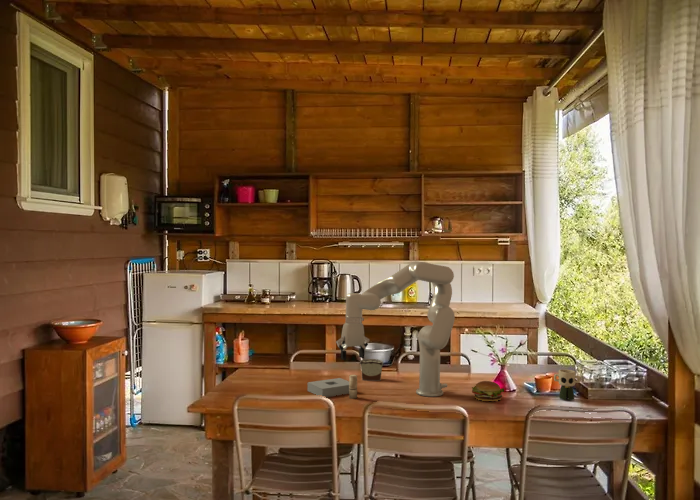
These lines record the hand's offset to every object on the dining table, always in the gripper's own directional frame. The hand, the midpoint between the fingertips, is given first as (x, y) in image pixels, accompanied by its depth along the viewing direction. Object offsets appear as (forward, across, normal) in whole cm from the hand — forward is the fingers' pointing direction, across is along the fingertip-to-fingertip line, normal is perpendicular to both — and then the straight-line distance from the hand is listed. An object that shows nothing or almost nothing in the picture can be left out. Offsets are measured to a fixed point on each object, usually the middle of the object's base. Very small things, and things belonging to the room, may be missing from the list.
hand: (352, 358), depth 248 cm
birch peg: (+18, -1, 0) cm, 18 cm away
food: (+17, -52, +33) cm, 64 cm away
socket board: (+18, +2, -14) cm, 23 cm away
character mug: (+16, -83, +52) cm, 99 cm away
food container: (+18, -29, -25) cm, 42 cm away
